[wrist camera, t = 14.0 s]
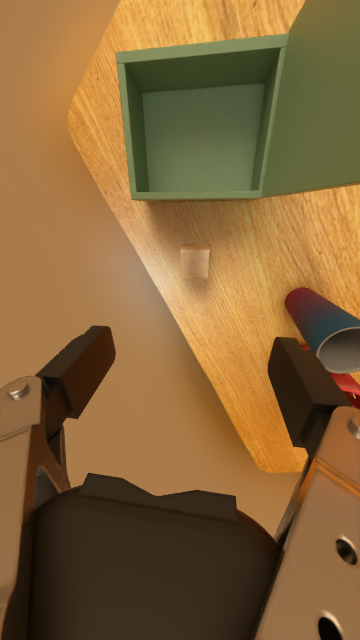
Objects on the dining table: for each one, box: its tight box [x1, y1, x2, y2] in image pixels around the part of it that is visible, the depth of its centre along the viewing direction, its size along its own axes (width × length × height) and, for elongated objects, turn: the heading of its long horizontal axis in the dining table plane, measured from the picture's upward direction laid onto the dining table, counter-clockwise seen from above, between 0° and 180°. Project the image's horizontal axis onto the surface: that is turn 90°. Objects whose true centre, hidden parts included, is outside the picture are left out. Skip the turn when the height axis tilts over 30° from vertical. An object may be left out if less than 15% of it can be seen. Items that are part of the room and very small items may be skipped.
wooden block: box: [180, 245, 210, 279], centre depth 33 cm, size 4×4×4 cm
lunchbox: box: [116, 34, 289, 201], centre depth 25 cm, size 17×13×7 cm
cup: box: [285, 288, 360, 374], centre depth 30 cm, size 7×7×15 cm
